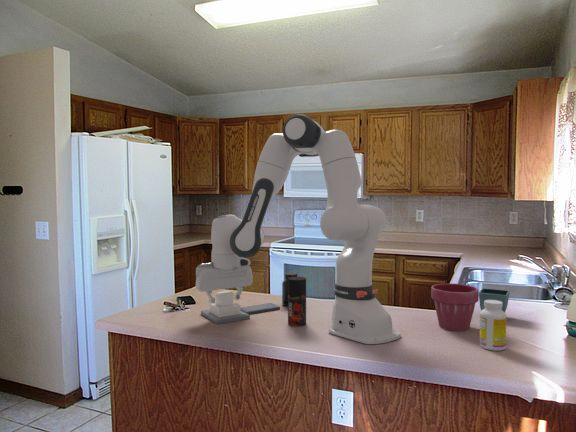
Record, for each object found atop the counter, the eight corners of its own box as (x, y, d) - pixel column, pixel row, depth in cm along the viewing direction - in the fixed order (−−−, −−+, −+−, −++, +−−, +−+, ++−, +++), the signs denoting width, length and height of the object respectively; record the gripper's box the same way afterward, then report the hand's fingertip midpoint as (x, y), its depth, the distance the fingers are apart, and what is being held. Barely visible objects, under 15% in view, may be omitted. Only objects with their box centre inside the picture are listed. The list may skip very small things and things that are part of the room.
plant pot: (421, 323, 150) (422, 284, 149) (456, 319, 154) (457, 281, 154) (450, 336, 136) (451, 293, 135) (488, 331, 141) (489, 290, 140)
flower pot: (481, 312, 163) (482, 287, 162) (509, 316, 158) (509, 290, 158) (477, 318, 155) (478, 292, 154) (506, 322, 150) (507, 295, 150)
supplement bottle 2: (509, 347, 127) (510, 301, 126) (501, 353, 122) (502, 305, 121) (484, 341, 131) (485, 297, 130) (475, 347, 126) (476, 301, 125)
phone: (270, 305, 173) (270, 302, 173) (280, 309, 167) (280, 306, 167) (237, 310, 165) (237, 307, 165) (246, 314, 160) (246, 312, 159)
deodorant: (309, 322, 150) (309, 277, 149) (300, 327, 145) (300, 280, 144) (293, 320, 153) (293, 276, 152) (284, 324, 148) (284, 279, 147)
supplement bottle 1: (298, 307, 170) (298, 275, 169) (280, 306, 171) (280, 274, 170) (301, 303, 176) (301, 272, 176) (284, 302, 178) (284, 271, 177)
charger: (233, 313, 157) (233, 293, 157) (221, 315, 155) (221, 294, 154) (227, 310, 161) (227, 290, 161) (216, 312, 159) (215, 292, 158)
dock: (249, 318, 155) (249, 306, 155) (217, 324, 149) (217, 311, 148) (231, 309, 167) (231, 298, 167) (200, 314, 160) (200, 302, 160)
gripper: (199, 265, 149) (199, 307, 149) (254, 260, 160) (254, 299, 160) (192, 262, 154) (192, 303, 155) (246, 258, 165) (246, 295, 166)
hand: (224, 301), depth 158 cm, fingers open, 8 cm apart
